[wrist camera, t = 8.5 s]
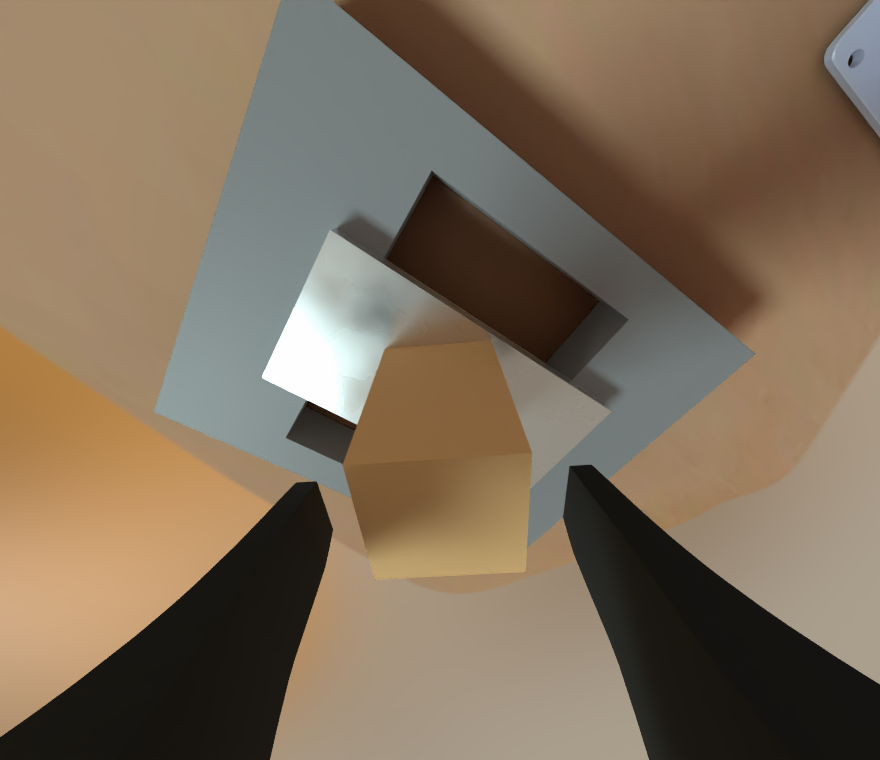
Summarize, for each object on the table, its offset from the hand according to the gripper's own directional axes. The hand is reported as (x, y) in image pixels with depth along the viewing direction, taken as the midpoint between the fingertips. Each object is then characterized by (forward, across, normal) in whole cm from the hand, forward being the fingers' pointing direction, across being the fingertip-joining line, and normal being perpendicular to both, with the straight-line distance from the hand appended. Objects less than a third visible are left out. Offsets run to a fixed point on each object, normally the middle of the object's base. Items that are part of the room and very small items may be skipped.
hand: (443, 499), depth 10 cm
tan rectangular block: (+6, 0, 0) cm, 6 cm away
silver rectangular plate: (+7, 0, 0) cm, 7 cm away
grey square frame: (+10, 0, 0) cm, 10 cm away
